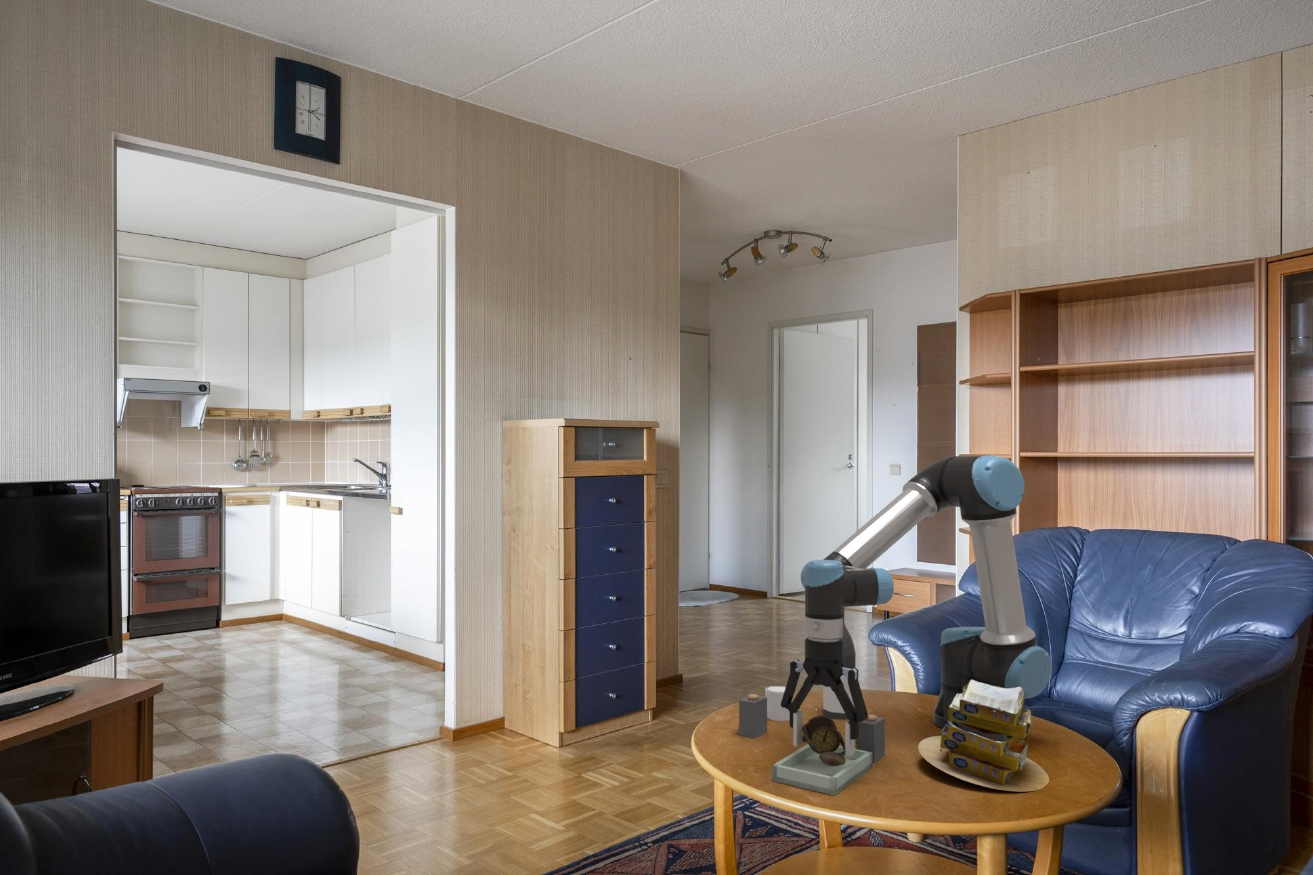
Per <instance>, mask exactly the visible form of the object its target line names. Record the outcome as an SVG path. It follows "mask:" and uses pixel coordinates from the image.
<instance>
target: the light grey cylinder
mask: <svg viewBox="0 0 1313 875" xmlns="http://www.w3.org/2000/svg"><path fill="white" fill-rule="evenodd" d="M785 688H786V686H784V685H771V686H766V687H765V688H764V692H765V697H767V720H770V721H775V722H787V721H790V712H789V710H788V709H786V708H783V707H781V701H782V698H783V694H784V691H785Z"/></svg>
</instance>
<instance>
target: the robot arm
mask: <svg viewBox="0 0 1313 875" xmlns="http://www.w3.org/2000/svg"><path fill="white" fill-rule="evenodd" d="M1025 486H1026V485H1025V480H1024V477H1023V474H1022V472H1021V470H1020V469H1019V467H1018V466H1017V465H1016V464H1015V463H1014V462H1012V461H1011V460H1010V459H1008V458H1006V457H1003V456H996V455H995V456H994V455H989V454H987V455H963V456H961V455H960V456H959V455H957V456H956V455H955V456H952V455H951V456H947V457H944V458H942V459H938V460H937V461H935V462H933V463H931V464H930V465H928V466H926V467H925V468H923V469H922V470H920V471H919V472H918V473H916V474H915V475H914V476H913V477H912V478H910V479H909V480H908V481H907V482H906V483H904V484H903V486H902V492H901V493H900V494H898V495H897V496H896V497H895V498H893V500H892V501H891V502H889V503H888V504H887V505H886V506H885V507H884V508H882V509H881V510H880V511H879V512H877V514H875V515H874V516H873V517H871V518H870V519H869V520H868V521H867V522H866V523H865V524H863V525H862V526H861V527H860V528H859V529H858V530H856V531H855V532H854V533H853V534H852V535H851V536H850V537H848V538H847V539H846V540H845V541H843V542H842V543H841V544H840V545H839V546H837V547H836V548H835V549H834V550H833V551H832V552H831V553H829V554H828V555H827V556H826V557H825V558H823V559H813V560H809V561H808V562H807V563H805V565H803V568H802V570H801V571H800V583H801V585H802V587H803V588H804V636H805V637H806V638H805V639H804V656H805V657H804V661H800V660H799V659H795V660H792V661H791V662H790V663H789V676H788V679H787V682H786V685H785V687H786V688H785V691H784V694H783V698H782V701H781V707H783V708H786V709H788V710H789V712H790V720H789V727H790V728H792V733H793V735H792V736H793V740H792V741H793V742H792V746H793V747H798V746H800V745H802V744H803V741H802V738H803V730H802V727H803V725H804V723H803V712H804V711H803V710H800V709H801V706H802V704H804V701H805V700H806V698H807V696H808V694H809V693H810V691H811V690H812V688H813V686H822V687H823V686H825V687H830V688H831V689H832V691H833V692H834V693H835V695H836V697H837V699H838V701H839V702H840V704H841V706H842V708H843V710H844V712H845V714H846V716H847V718H848V719H847V722H845V726H844V727H845V728H844V729H845V730H844V731H845V732H844V734H845V736H844V742H845V757H850V756H852V755H853V754H854V749H855V741H856V739H857V738H858V736H859V722H863V721H864V720H866V719H867V718H868V714H869V713H868V710H867V706H866V703H865V700H864V696H863V692H862V689H861V686H860V683H859V682H860V681H859V669H858V668H854V669H849V668H844V665H843V662H842V660H843V641H842V640H841V639H840V638H842V637H843V607H844V608H849V607H864V606H865V607H866V606H873V607H876V606H879V605H884V604H887V603H889V602H890V601H891V599H893V595H894V592H895V589H894V588H895V587H894V586H895V583H894V579H893V577H892V575H891V574H890V573H889V571H888V570H886V569H884V568H881V567H879V568H877V567H869V566H870V565H872V564H873V563H874V562H875V561H876V560H878V558H880V557H881V556H882V555H883V554H884V553H885V552H886V551H888V550H889V549H890V548H892V547H893V545H894V544H896V543H897V542H899V540H900V539H902V538H903V537H904V536H905V535H906V534H907V533H909V531H911V530H912V529H913V528H914V527H915V526H917V525H918V524H919V523H920V522H921V521H922V520H924V519H925V518H926V517H927V518H930V517H931V518H932V517H933V516H935V515H936V514H938V512H940V511H942V510H944V509H947V508H953V507H955V508H959V510H960V517H961V518H960V519H961V521H963V522H964V523H965V524H967V525H968V526H969V529H970V537H971V542H972V543H971V544H972V549H973V555H974V563H975V567H976V574H977V581H978V586H979V593H980V594H979V595H980V600H981V605H982V613H983V619H984V626H959V627H958V626H957V627H950V628H946V629H944V630H943V631H942V632H941V635H940V636H941V637H940V645H939V649H940V650H939V651H940V653H939V655H940V692H939V695H938V698H937V701H936V703H935V706H934V710H933V717H932V718H933V720H932V721H933V723H934V725H935V726H938V727H939V728H941V729H943V728H944V726H945V725H946V724H948V725H949V723H948V721H949V722H950V720H949V719H948V710H949V706H950V705H951V703H952V701H953V699H954V697H955V696H956V694H957V693H960V694H962V693H963V691H964V690H963V688H964V687H965V686H966V687H965V688H967V684H968V683H969V682H970V680H974V681H977V682H981V683H984V684H989V685H994V686H999V687H1003V688H1016V687H1022V689H1023V692H1024V693H1025V698H1024V699H1032V698H1034V697H1036V696H1039V695H1040V694H1041V693H1042V692H1043V691H1044V689H1046V686H1047V684H1048V683H1049V682H1050V679H1051V676H1052V669H1053V665H1052V664H1053V663H1052V659H1051V656H1050V654H1049V652H1047V651H1046V650H1045V648H1043V647H1041V646H1039V645H1038V643H1037V638H1036V633H1035V631H1034V630H1033V629H1031V628H1030V627H1029V626H1028V625H1027V622H1026V615H1025V608H1024V601H1023V596H1022V588H1021V582H1020V576H1019V570H1018V569H1019V568H1018V563H1017V556H1016V549H1015V543H1014V536H1013V530H1012V528H1013V527H1012V523H1011V522H1012V520H1013V519H1014V518H1015V516H1016V515H1017V507H1018V506H1019V505H1020V504H1021V502H1022V501H1023V496H1024V495H1025ZM803 670H804V671H805V673H806V675H807V676H806V678H805V680H804V681H803V684H802V685H801V688H800V689H799V690H798V692H797V693H796V696H795V697H794V694H795V692H796V688H797V685H798V682H799V679H800V676H801V672H802V671H803ZM843 674H844V675H845V678H846V679H847V680H848V686H849V689H850V693H851V696H852V700H853V703H854V706H853V704H852V702H851V700H850V698H849V696H848V694H847V692H846V690H845V688H844V684H843V682H842V680H841V678H840V677H841V676H842V675H843ZM965 690H966V689H965ZM854 707H855V708H854Z"/></svg>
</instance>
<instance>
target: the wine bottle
mask: <svg viewBox="0 0 1313 875" xmlns="http://www.w3.org/2000/svg"><path fill="white" fill-rule="evenodd" d="M840 639H841V640H842V641H843V660H842V662H843V665H844V668H849V669H854V668H856V665H857V664H856V656H857V655H856V653H857V652H856V648H855V643H854V641H853V639H852V635H851V634H850V631H848V629H847V626H846V624H845V607H843V637H842V638H840ZM840 678H841V680H842V682H843V684H844V688H845V690H846V692H847V694H848V696H849V698H850V700H851V702H852V704H853V706H854V703H853V700H852V696H851V693H850V689H849V686H848V680H847V679H846V678H845V675H844V674H843V675H842V676H841V677H840ZM822 687H823V688H822V691H823V692H822V693H823V695H822V696H823V697H822V700H823V702H822V705H823V706H822V711H823V714H822V715H823V716H827V717H829V718H831V719H832V720H833V719H834V720H848V718H847V716H846V714H845V712H844V710H843V708H842V706H841V704H840V702H839V701H838V699H837V697H836V695H835V693H834V692H833V691H832V689H831V688H830V687H825V686H823V685H822ZM854 708H855V707H854Z"/></svg>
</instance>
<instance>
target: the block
mask: <svg viewBox="0 0 1313 875" xmlns="http://www.w3.org/2000/svg"><path fill="white" fill-rule="evenodd" d="M885 720H886V718H885V717H882V716H881V717H880V716H877V715H876V714H873V713H872V714H871V713H868V718H867V719H866V720H864V721H863V722H859V736H858V738H857V739H856V740H855V749H858V750H863V751H868V752H872V764H874V765H875V764H876V763H877V762H879V761H880V760H881V759H883V758H884V757H885V756H886V754H885V753H886V750H885V749H886V746H885V745H886V744H885V743H886V737H885V734H886V731H885V730H886V726H885V725H886V723H885V722H886V721H885Z"/></svg>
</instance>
